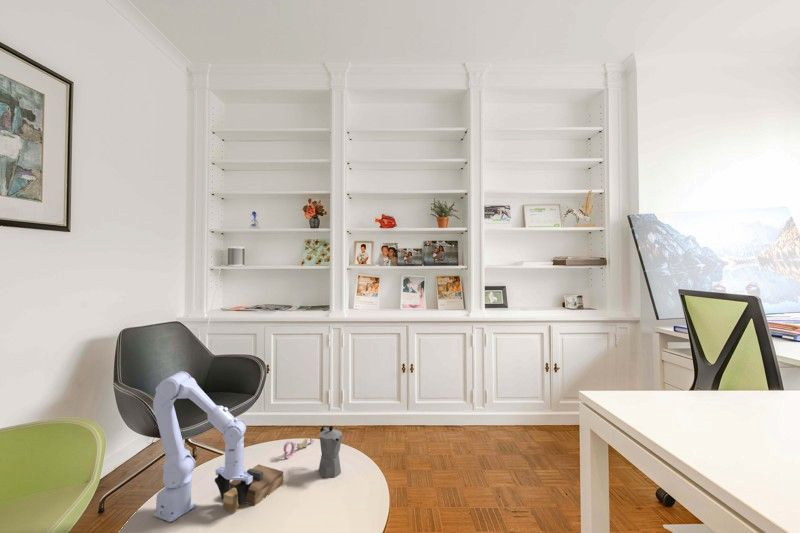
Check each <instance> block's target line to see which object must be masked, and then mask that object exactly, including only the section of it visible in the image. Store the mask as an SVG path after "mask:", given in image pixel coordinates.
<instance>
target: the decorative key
mask: <svg viewBox="0 0 800 533" xmlns="http://www.w3.org/2000/svg"><path fill="white" fill-rule="evenodd" d="M315 440H316V439H313V438H310V440H308V438H304V440H303V441H302V442H300V443H299V442H298V443H296V442H293V441H290V440H289V441H286V442H285V444H284V446H283V452H284V453H283V458H284V459H288V458H289V457H290V456H291V457H292V456H293V455H294V454H295V453H296V450H295V449H299V448H301V447H303V448H305V447H306V448H307V447H308V444H309V445H310V446H312V444H313V443H314V441H315ZM289 445H291V449H290V451H287V448H288V446H289ZM291 457H290V458H291ZM290 458H289V459H290ZM289 459H288V460H289Z"/></svg>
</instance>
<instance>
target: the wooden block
mask: <svg viewBox="0 0 800 533" xmlns="http://www.w3.org/2000/svg"><path fill="white" fill-rule="evenodd" d="M241 505H242V506H243V504H241ZM241 505H239V504H238V493H237V489H236V488H232V489H231V490H229V491H228V492H226V493H224V499H223V506H222V507H223V508H222V509H223V510H225V511H228V512H230V513H234V512H235V511H236V510H238V509H240V507H242V506H241ZM237 508H238V509H237ZM233 511H234V512H233Z"/></svg>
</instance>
